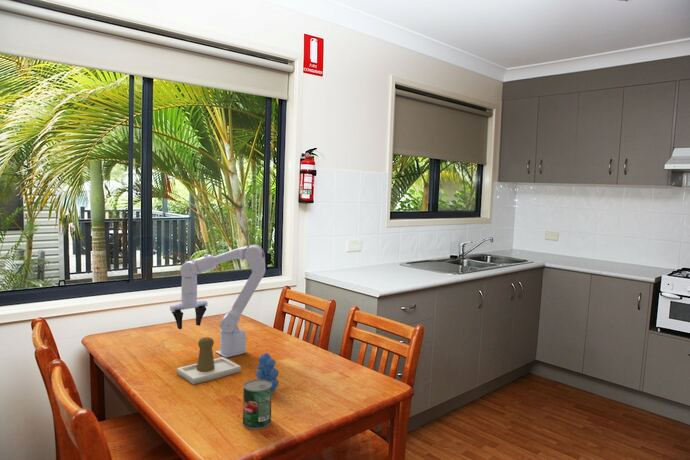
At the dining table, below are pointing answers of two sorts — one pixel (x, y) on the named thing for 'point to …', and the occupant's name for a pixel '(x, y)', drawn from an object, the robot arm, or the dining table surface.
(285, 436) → the dining table surface
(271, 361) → the grapes
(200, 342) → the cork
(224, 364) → the white tray
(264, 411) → the canned tomato
